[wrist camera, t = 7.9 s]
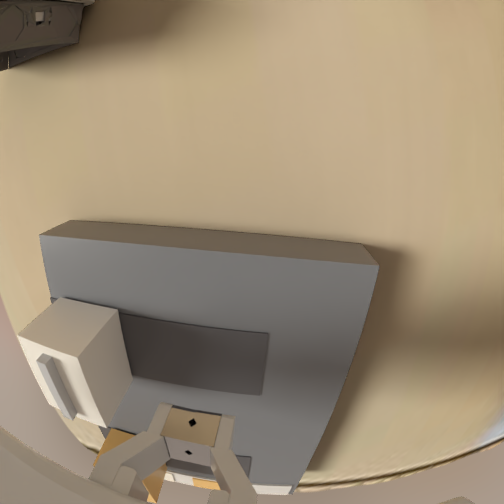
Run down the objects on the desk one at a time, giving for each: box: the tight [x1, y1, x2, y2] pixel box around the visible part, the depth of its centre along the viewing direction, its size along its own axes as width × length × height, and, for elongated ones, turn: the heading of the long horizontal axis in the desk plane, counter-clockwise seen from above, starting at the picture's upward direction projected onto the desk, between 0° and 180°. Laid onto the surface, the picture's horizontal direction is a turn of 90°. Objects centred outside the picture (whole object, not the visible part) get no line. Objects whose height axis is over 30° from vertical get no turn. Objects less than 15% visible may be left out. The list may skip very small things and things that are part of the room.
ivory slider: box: [17, 297, 133, 428], centre depth 12 cm, size 4×5×5 cm
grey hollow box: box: [0, 0, 95, 71], centre depth 7 cm, size 9×5×9 cm, turn 84°
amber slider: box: [93, 428, 167, 503], centre depth 16 cm, size 4×5×5 cm
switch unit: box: [39, 220, 379, 495], centre depth 17 cm, size 17×24×3 cm
